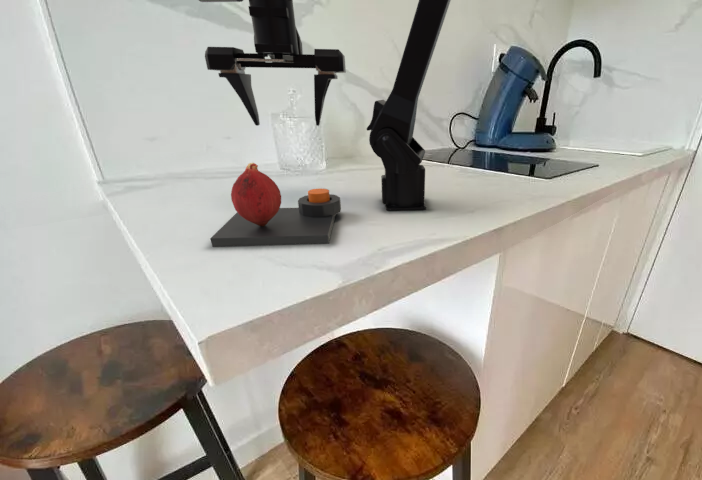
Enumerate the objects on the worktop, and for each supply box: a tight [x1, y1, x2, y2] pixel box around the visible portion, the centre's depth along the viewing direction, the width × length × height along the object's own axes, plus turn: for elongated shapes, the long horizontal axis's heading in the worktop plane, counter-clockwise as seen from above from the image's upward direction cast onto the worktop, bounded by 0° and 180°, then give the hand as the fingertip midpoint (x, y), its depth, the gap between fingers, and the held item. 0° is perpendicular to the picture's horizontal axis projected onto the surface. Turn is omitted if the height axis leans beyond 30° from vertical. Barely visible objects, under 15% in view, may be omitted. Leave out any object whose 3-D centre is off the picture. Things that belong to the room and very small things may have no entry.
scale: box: [209, 193, 342, 248], centre depth 50 cm, size 15×13×3 cm
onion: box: [230, 162, 282, 226], centre depth 46 cm, size 6×6×8 cm
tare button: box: [307, 188, 330, 203], centre depth 53 cm, size 3×3×2 cm
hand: (288, 125), depth 57 cm, fingers open, 9 cm apart
